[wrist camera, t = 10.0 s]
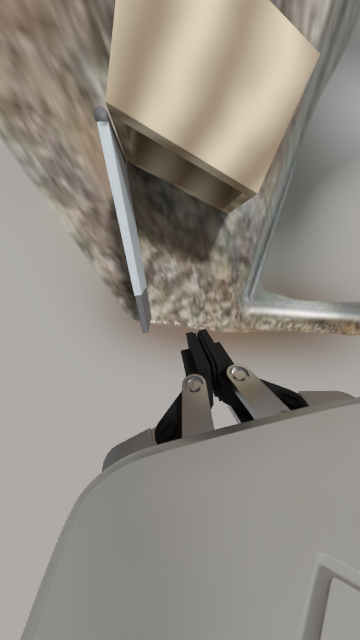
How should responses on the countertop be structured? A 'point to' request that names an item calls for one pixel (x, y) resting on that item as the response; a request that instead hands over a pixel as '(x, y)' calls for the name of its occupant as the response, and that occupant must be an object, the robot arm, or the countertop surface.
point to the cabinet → (205, 91)
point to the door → (124, 212)
